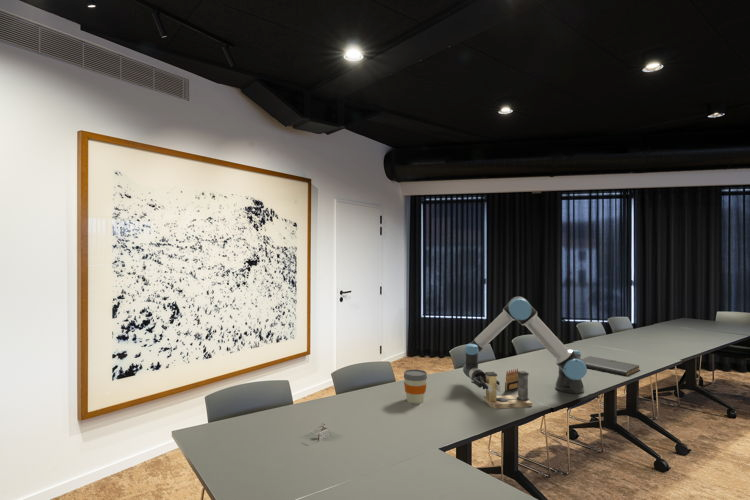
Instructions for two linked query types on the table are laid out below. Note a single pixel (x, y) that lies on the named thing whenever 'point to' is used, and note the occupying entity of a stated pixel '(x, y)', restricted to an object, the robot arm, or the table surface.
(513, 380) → the ammunition clip
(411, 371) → the reusable coffee cup
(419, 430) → the table surface
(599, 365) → the grey hardcover book
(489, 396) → the brass leg
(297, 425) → the table surface
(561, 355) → the robot arm
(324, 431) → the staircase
